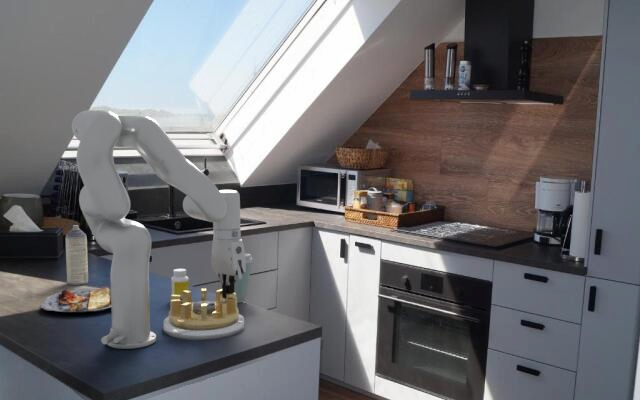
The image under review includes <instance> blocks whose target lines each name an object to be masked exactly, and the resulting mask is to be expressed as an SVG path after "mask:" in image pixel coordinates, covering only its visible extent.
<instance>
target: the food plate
mask: <svg viewBox="0 0 640 400" xmlns="http://www.w3.org/2000/svg"><path fill="white" fill-rule="evenodd" d="M40 308H42V309H43V310H44V311H54V312H61V313H66V314H67V313H69V314H77V313H78V314H79V313H81V314H83V313H95V312H103V311H105V310H107V309H110V308H111V289H110V287H109V286H104V287H99V288H81V289H79V288H78V289H71V290H68V289H67V288H66V289H64V290H62V291H60V292H57V293H54V294H51V295H50V296H46V297H45V299H44V300H43V301H42V304H41V307H40ZM83 309H86V310H83ZM81 310H82V311H81Z"/></svg>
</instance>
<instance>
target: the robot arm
mask: <svg viewBox="0 0 640 400" xmlns="http://www.w3.org/2000/svg"><path fill="white" fill-rule="evenodd" d="M71 129H72V133H73V135H74V137H75V138H76V139H77V140H78V141H79V144H78V147H77V151H76V159H75V160H76V166H77V170H78V173H79V176H80V178H81V180H82V183H83V186H82V188H81V190H80V192H79V197H78V198H79V199H78V201H79V207H80V210H81V212H82V214H83V217H84V219H85V221H86V223H87V225H88V227H89V229H90V231H91V233H92V235H93V237H94V239H95V241H96V243H97V244H98V245H99V246H100V247H101V249H103V250H104V251H106V252H108V253H111V254H113V255H112V261H111V265H110V271H109V272H110V275H109V277H110V279H109V280H110V290H111V307H110V309H111V327H110V328H109V329H110V330H109V333H108V334H107V335H105V336H103V337H101V340H100V341H101V343H102V344H103V345H107V346H109V347H111V348H114V349H122V350H125V349H126V350H129V349H130V350H131V349H138V348H144V347H148V346H151V345H152V344H154V343H155V342H156V341H157V334H156V333H155V332H153V331H152V330H151V315H150V313H151V311H150V310H151V309H150V308H151V307H150V305H151V304H150V273H149V272H150V267H149V266H150V255H151V251H152V236H151V234H150V232H149V230H148V228H146V226H144V224H142V223H140V222H138V221H135V220H132V219H128V218H126V216H127V215H128V214H129V212H130V210H131V199H130V196H129V193H128V192H127V189H126V187H125V186H124V185H125V184H124V183H123V181H122V178H121V177H120V175H119V172H118V170H117V167H116V164H115V161H114V149H115V148H129V149H134V150H136V151H137V153H138V154H139V155H140V156H141V157H142V158H143V160H144V161H145V162H146V164H147V165H148V166H149V167H150V168H151V170H153V172H154V173H155V174H156V176H157V177H158V178H160V179H161V180H162V181H164V182H165V183H166V184H168V185H170V186H172V187H174V188H175V189H177V190H179V191H180V192H182V193H183V194H185V195H186V196H185V197H184V198H183V201H182V208H183V211H184V213H186V215H188V216H189V217H191V218H193V219H197V220H200V221H201V220H202V221H206V222H209V223H212V224H213V227H212V228H213V239H212V245H211V269H212V271H213V274H214V275H216V276H217V277H218V278H219V281H220V284H221V289H222V298H225V299H226V293H234V284H235V283H236V281H237V280H241V279H242V274H243V273H245V272H246V261H245V254H246V251H245V246H244V242H243V239H241V236H242V233H241V200H240V199H241V198H240V197H241V196H240V192H238V190H234V189H220V190H219V188H218V187H217V186H216V185H215V183H214V182H213V181H212V180H211V179H210V177H208V176H207V174H205V173H203V172H202V171H201V170H200V169H199V168H198V167H197V166H196V165H195V164H194V163H192V162H191V161H190V160H189V159H187V158H186V157H185V155H184V154H183V153H182V152H181V151H180V149H179V148H178V147H177V146H176V144H175V143H174V142H173V141H172V139H171V138H170V137H169V135H168V134H167V133H166V132H165V130H164V129H163V128H162V126H161V125H160V124H159V123H158V122H157V120H155V119H154V118H152V117H149V116H146V115H127V114H126V115H125V114H116V113H114V112H112V111H108V110H99V109H98V110H97V109H96V110H95V109H94V110H92V109H91V110H90V109H87V110H84V111H81V112H79V113H77V114H76V115H75V116H74V117H73V119H72V122H71ZM230 277H231V278H230ZM222 284H223V285H222Z"/></svg>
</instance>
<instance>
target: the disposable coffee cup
mask: <svg viewBox="0 0 640 400" xmlns="http://www.w3.org/2000/svg"><path fill="white" fill-rule="evenodd" d="M245 261H246V272H245V273H243V274H242V279H241V280H237V281H236V283H235V284H234V293H236V298H237V304H240V303H243V302H245V301H246V299H247V295H248V294H247V293H248V288H249V287H248V286H249V280H250V274H251V269H252V264H253V262H254V260H253V257H252V254H251V253H245ZM230 278H231V277H230ZM222 285H223V284H221V286H222ZM225 302H226V299H225Z"/></svg>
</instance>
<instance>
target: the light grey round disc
mask: <svg viewBox="0 0 640 400" xmlns="http://www.w3.org/2000/svg"><path fill="white" fill-rule="evenodd" d="M243 329H245V317H244V316H243V315H242V314H240V313H239V320H238V321H237V322H236V323H235V324H233V325H230V326H227V327H223V328H218V329H210V330H189V329H182V328H178V327H175V326H173V325H171V324H170V323H169V315H168V316H167V317H165V318H164V320H163V332H164V333H165V334H166V335H168V336H171V337H172V338H177V339H182V340H188V341H189V340H193V341H205V340H207V341H209V340H217V339H225V338H227V337H230V336H234V335H237V334H238V333H239V334H240V332H241V331H243Z"/></svg>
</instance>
